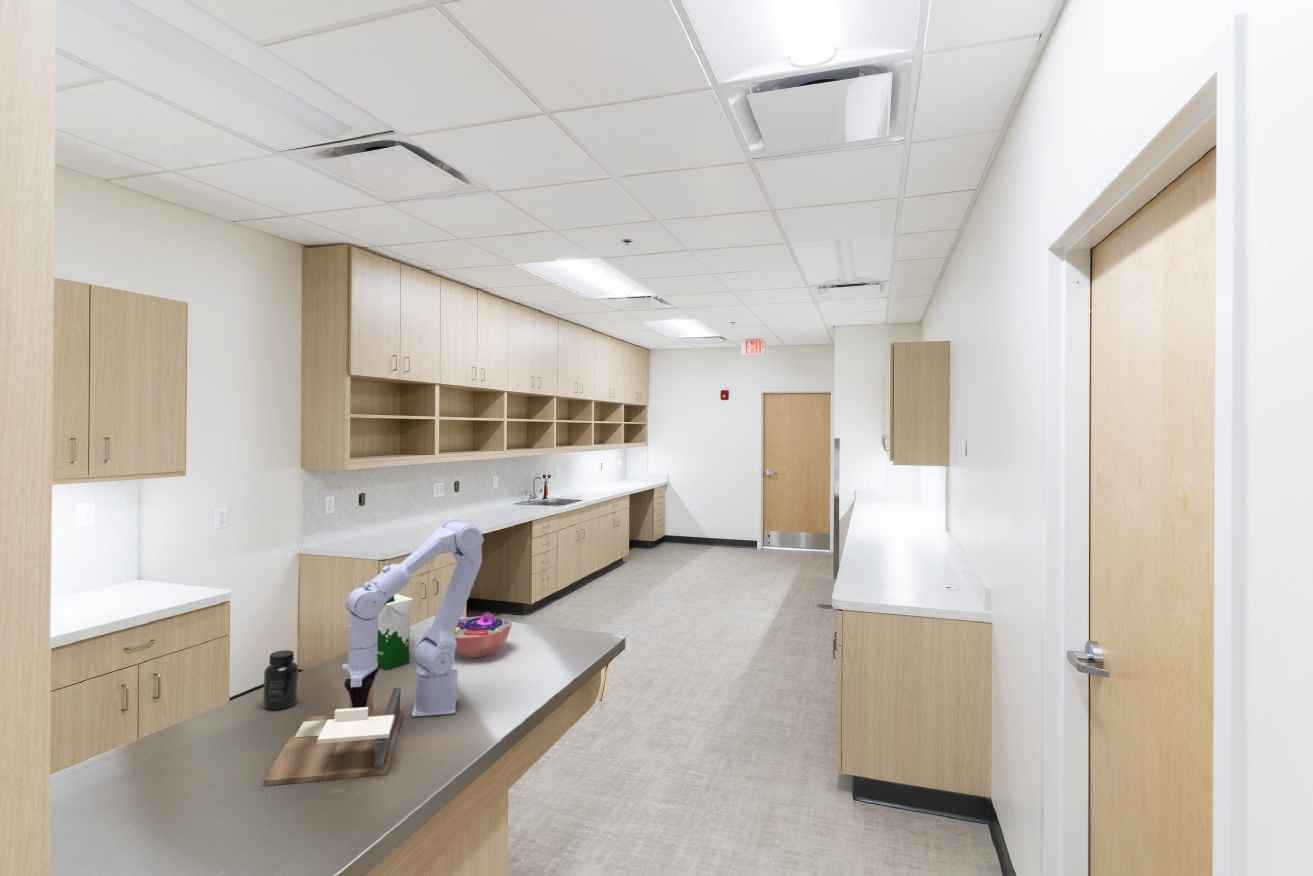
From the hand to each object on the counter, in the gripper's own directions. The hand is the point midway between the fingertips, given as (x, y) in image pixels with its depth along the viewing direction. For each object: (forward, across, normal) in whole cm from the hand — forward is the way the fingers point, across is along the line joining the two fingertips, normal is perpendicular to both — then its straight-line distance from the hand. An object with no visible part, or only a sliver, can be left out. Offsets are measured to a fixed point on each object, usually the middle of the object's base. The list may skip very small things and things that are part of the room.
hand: (361, 706), depth 137 cm
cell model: (+6, -42, +24) cm, 49 cm away
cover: (-1, +14, +2) cm, 14 cm away
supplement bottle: (+5, -16, -20) cm, 26 cm away
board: (+5, +7, -3) cm, 9 cm away
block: (+2, 0, 0) cm, 2 cm away
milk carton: (+6, -38, +1) cm, 38 cm away
